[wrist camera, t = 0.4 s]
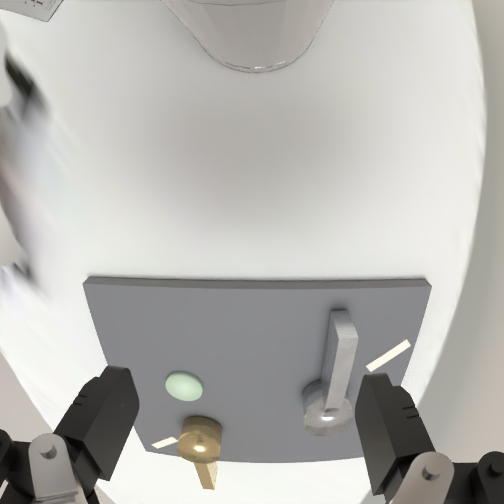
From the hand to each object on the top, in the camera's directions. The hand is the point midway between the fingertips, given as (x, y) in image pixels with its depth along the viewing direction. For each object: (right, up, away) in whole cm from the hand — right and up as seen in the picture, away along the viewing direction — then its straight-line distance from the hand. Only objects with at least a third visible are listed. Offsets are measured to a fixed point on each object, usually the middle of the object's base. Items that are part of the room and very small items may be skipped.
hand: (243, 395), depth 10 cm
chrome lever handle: (+8, -7, +19) cm, 22 cm away
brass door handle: (-6, -21, +26) cm, 34 cm away
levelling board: (+1, -11, +24) cm, 26 cm away
